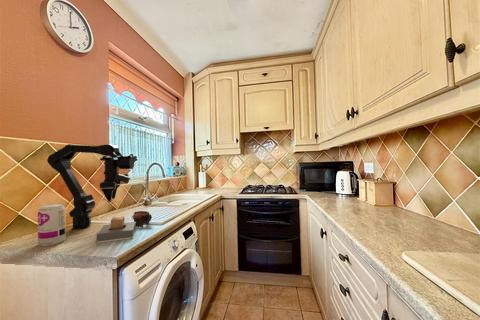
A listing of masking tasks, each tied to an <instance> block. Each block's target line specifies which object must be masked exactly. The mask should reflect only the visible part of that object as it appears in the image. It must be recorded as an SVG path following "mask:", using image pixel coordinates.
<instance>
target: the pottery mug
mask: <svg viewBox="0 0 480 320" xmlns="http://www.w3.org/2000/svg"><path fill="white" fill-rule="evenodd" d="M152 218H153V217H152V215H151V214H150V212H149V211H147V210H138V211H134V212H133V215H132V216H131V219H132V220H133V222H136V228H144V225H145V226H146V225H148V224H149V223H150V222H151V220H152Z"/></svg>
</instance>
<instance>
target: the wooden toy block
mask: <svg viewBox="0 0 480 320" xmlns="http://www.w3.org/2000/svg"><path fill="white" fill-rule="evenodd" d="M124 223H125V216H115V217H112V218H111V220H110V224H111V230H116V229H124Z"/></svg>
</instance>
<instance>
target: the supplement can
mask: <svg viewBox="0 0 480 320" xmlns="http://www.w3.org/2000/svg"><path fill="white" fill-rule="evenodd" d="M66 238H67V237H66V207H65V205H64V204H63V203H55V204H47V205H42V206H40V207H39V209H38V210H37V240H38V241H37V244H38V245H39V246H41V247H49V245H51V246H55V245H58V244H60V243H63V242H64V241H65V240H66Z"/></svg>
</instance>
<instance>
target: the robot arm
mask: <svg viewBox="0 0 480 320" xmlns="http://www.w3.org/2000/svg"><path fill="white" fill-rule="evenodd" d="M77 153H85V154H86V153H88V154H98V155H100V156H102V157H101V158H100V159H99V161H100V162H101V161H104V171H103V175H104V180H103V181H101V182H100V183H99V189H100V190H101V192H102V193H103V195H104V197H105V199H106V200H107V202H108V203H111V202H112V200H114V199H115V198H116V196H117V191H118V188H119V187H120V186H121V185H122V183H124V184H129V183H130V180H131V176H130V175H129V174H128V173H124V174H121V173H120V171H119V170H133V169H134V168H135V161H134V159H133V156H132V155H126V156H124V155H123V153H122V152H120V148H119V147H118V145H113V144H100V145H86V144H85V145H82V144H71V143H68V144H67V145H65V146H64V147H62V148H60V149H59V150H56V151H54V153H52V154H50V155H48V158H47V159H46V160H47V164H48V165H49V166H50V167H51V168H52V169H53V170H55V171H56V172H57V173H59V175H60V177H61V178H62V180H63V182H64V184H65V185H66V187H67V189H68V190H69V192H70V194H71V196H72V198H73V208H72V209H71V210H70V212H69V213H68V215H69V216H70V218H72V227H71V230H77V229H87V228H88V227H90V226H91V224H92V216H91V215H90V213H92V211H93V210H94V208H95V206H96V200H95V198H94V197H93V195H92V194H91V193H89V194H87V193H86V192H85V191H84V189H83V188H82V186H81V184H80V183H79V181H78V178H77V176H76V175H75V174H74V171H73V169H72V168H71V167H72V161H71V160H72V159H74V157H75V155H76V154H77Z"/></svg>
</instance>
